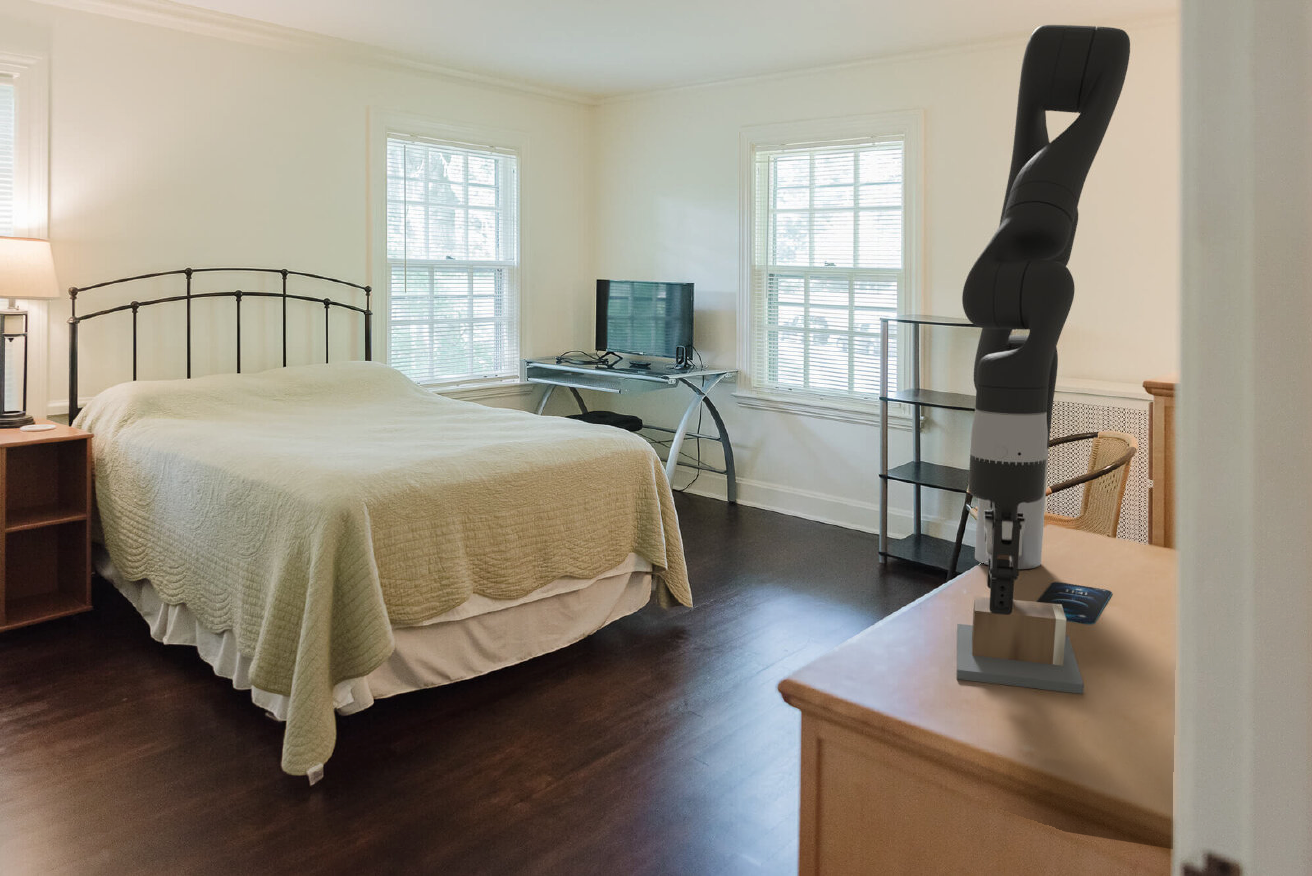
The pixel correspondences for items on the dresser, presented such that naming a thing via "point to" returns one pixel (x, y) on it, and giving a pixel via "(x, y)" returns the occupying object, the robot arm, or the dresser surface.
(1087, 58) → the robot arm
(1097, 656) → the dresser surface
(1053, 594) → the smartphone
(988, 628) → the tan rectangular block
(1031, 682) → the slate mat
